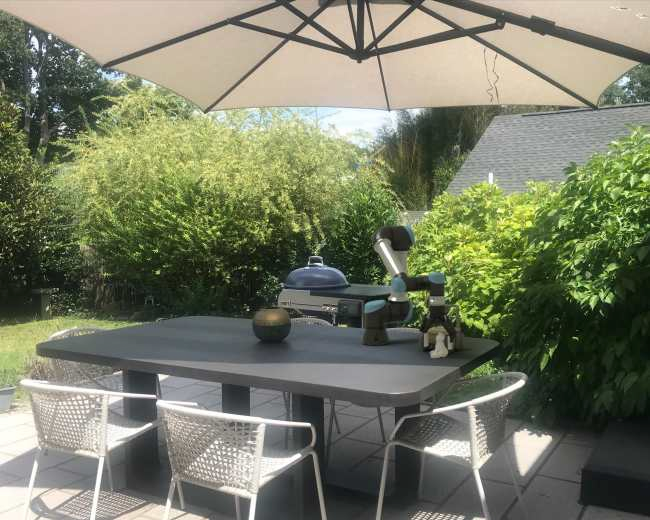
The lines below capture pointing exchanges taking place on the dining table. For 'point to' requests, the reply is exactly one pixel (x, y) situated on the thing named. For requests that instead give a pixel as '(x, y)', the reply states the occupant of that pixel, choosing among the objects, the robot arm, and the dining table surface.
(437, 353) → the sitting furry creature
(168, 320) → the dining table surface
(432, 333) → the wooden trolley
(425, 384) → the dining table surface
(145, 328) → the dining table surface
